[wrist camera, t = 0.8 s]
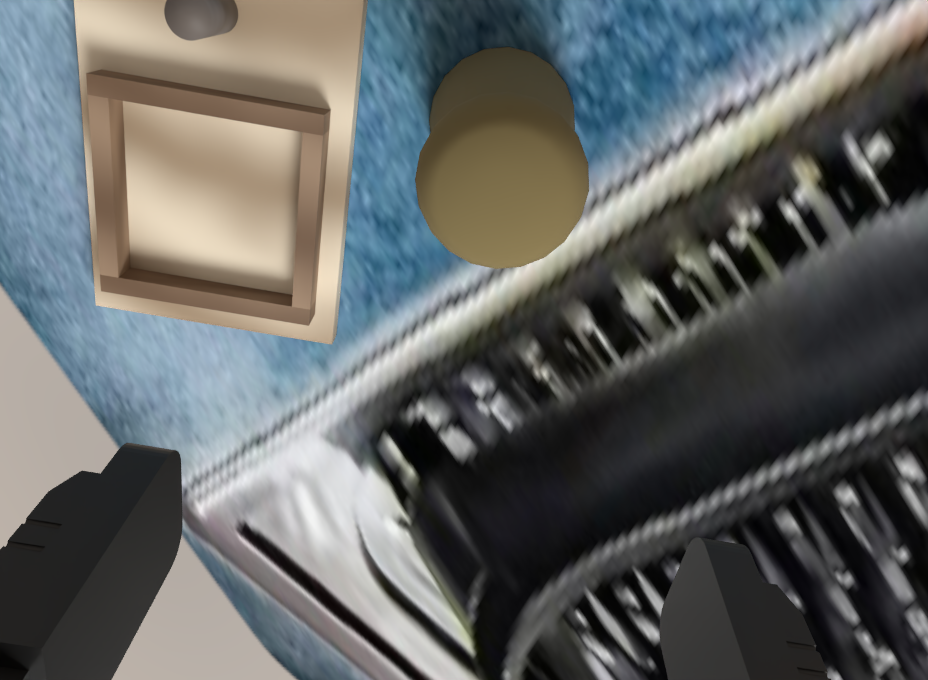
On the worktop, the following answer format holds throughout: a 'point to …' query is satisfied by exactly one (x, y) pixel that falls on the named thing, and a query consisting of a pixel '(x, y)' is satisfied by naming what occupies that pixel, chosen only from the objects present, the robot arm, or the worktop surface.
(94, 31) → the socket plate
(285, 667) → the worktop surface
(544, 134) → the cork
